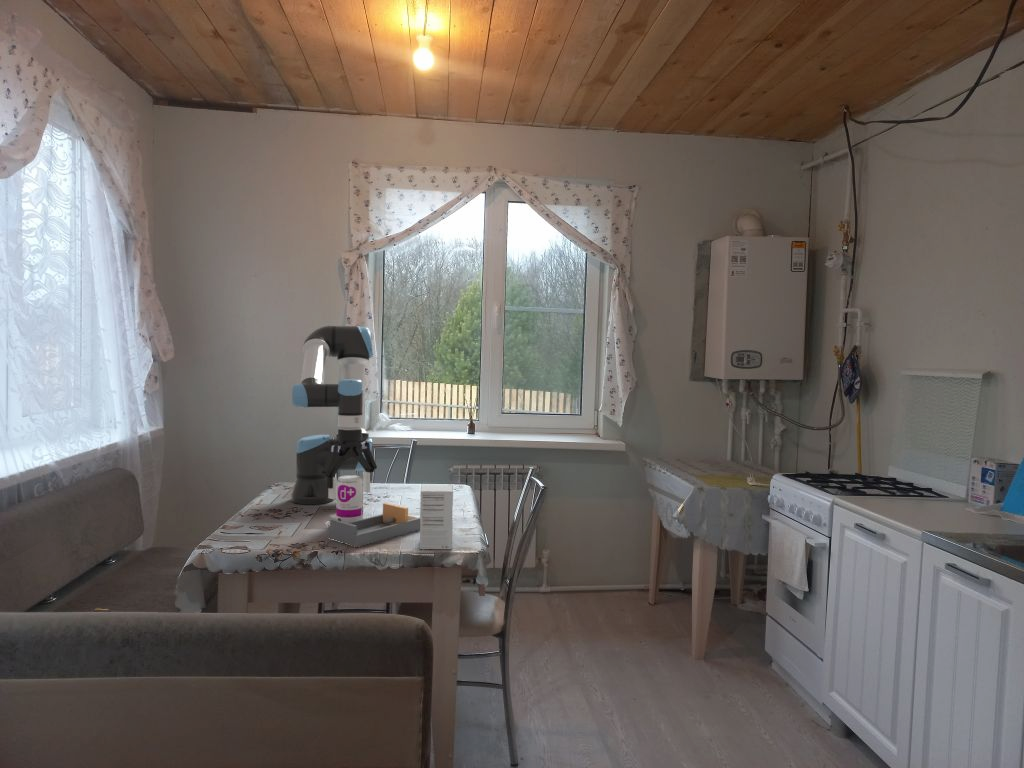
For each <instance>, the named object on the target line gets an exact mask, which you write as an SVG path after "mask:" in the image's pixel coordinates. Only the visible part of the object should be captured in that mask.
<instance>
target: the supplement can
mask: <svg viewBox="0 0 1024 768" xmlns="http://www.w3.org/2000/svg"><path fill="white" fill-rule="evenodd" d="M335 505H336V507H335V510H336V511H335V514H336V515H335V520H338V521H342V522H346V523H349V522H353V521H357V520H361V519H364V517H363V516H364V492H363V478H362V476H361V475H356V474H347V475H341V476H338V478H337V479H336V499H335Z"/></svg>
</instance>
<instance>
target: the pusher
mask: <svg viewBox="0 0 1024 768" xmlns="http://www.w3.org/2000/svg"><path fill="white" fill-rule="evenodd" d="M382 514H383V522H384V523H386V524H391V525H394V524H398V523H402V522H405V521H408V515H409V508H408V507H405V506H400V505H396V504H393V503H389V502H383V503H382Z"/></svg>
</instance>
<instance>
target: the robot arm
mask: <svg viewBox="0 0 1024 768" xmlns="http://www.w3.org/2000/svg"><path fill="white" fill-rule="evenodd" d="M372 341H373V340H372V335H371V330H370V329H369V328H368V327H366V326H358V325H355V326H352V325H351V326H350V325H349V326H348V325H325V326H321V327H319V328H317V329H315V330H313V331H312V332H311V333H310V334H308V336H307V337H306V338H305V340H304V342H303V344H302V355H303V356H304V357H303V363H302V371H301V376H300V377H301V378H300V383H295V384H293V385H292V387H291V388H292V389H291V400H292V401H291V402H292V406H293V407H296V408H298V407H299V408H337V409H338V412H337V414H338V415H337V428H338V430H337V432H336V434H335V436H336V438H331V436H330V434H315V435H309V436H305V437H301V438H300V439H298V441H297V442H296V449H295V450H296V451H295V453H296V465H295V466H296V471H295V473H296V475H295V476H296V478H295V482H294V484H293V489H292V492H291V497H290V501H291V503H294V504H297V505H323V504H326V503H330V502H333V501H334V500H336V482H337V477H335V476H336V474H337V473H338V472H348V471H350V472H351V471H353V472H357V471H363V472H362V481H363V493H371V482H372V475H373V474H372V473H375V470H377V468H378V466H377V464H376V461H375V458H374V455H373V453H372V448H373V447H372V446H373V439H372V438H371V437H369V435H370V434H369V432H368V431H366V429H365V427H366V425H365V424H366V422H365V419H366V418H365V406H366V405H365V404H366V403H365V401H366V395H365V394H366V393H365V392H366V391H365V390H366V387H365V386H366V385H365V384H366V383H365V382H366V366H367V365H368V364H369V363H370V359H371V358H373V357H374V351H373V342H372ZM331 357H332V358H337V363H338V364H339V365H340V367H341V377H340V380H339V381H338V383H330V384H329V383H325V375H326V367H327V366H326V365H327V359H328V358H331Z"/></svg>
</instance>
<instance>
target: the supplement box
mask: <svg viewBox="0 0 1024 768" xmlns="http://www.w3.org/2000/svg"><path fill="white" fill-rule="evenodd" d="M419 505H420V506H419V510H420V511H419V513H420V515H419V517H420V530H419V550H420V549H451V548H452V549H453V505H454V484H447V483H445V484H442V483H441V484H438V483H437V484H436V483H435V484H429V483H428V484H427V483H426V484H424V483H423V484H422V486H421V489H420V504H419Z"/></svg>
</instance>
